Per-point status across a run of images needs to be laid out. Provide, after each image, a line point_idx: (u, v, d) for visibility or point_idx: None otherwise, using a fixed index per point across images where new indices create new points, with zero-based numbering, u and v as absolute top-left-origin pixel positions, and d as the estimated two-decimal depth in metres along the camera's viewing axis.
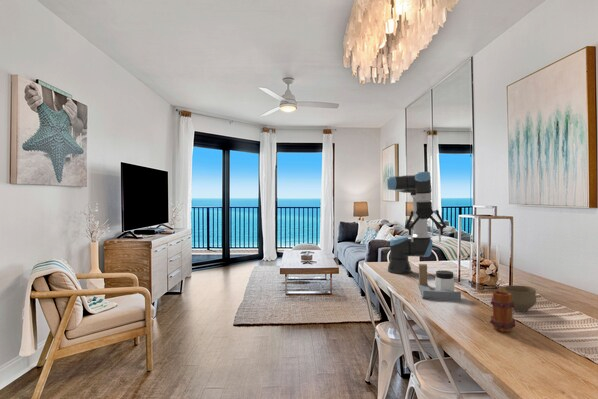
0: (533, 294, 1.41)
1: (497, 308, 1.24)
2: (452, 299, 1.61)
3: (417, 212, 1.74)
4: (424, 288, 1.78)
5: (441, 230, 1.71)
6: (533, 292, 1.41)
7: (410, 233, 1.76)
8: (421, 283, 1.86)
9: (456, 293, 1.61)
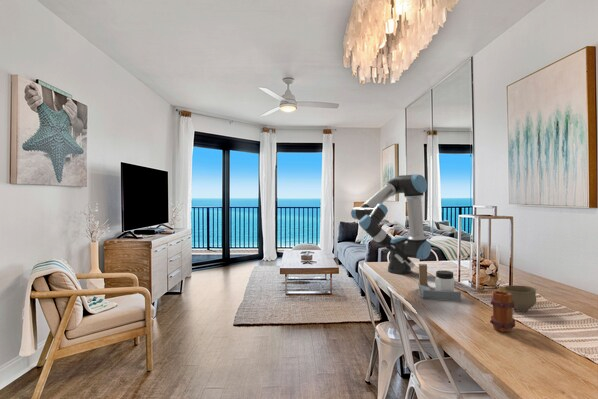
0: (533, 294, 1.41)
1: (497, 308, 1.24)
2: (452, 299, 1.61)
3: None
4: (424, 288, 1.78)
5: (405, 260, 1.78)
6: (533, 292, 1.41)
7: None
8: (421, 283, 1.86)
9: (456, 293, 1.61)
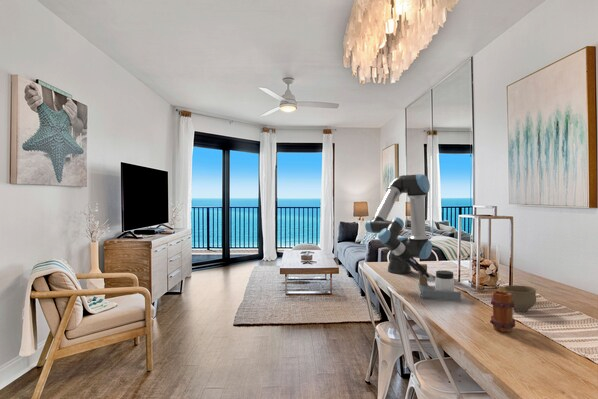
0: (533, 294, 1.41)
1: (497, 308, 1.24)
2: (452, 299, 1.61)
3: None
4: (424, 288, 1.78)
5: (424, 274, 1.83)
6: (533, 292, 1.41)
7: None
8: (421, 283, 1.86)
9: (456, 293, 1.61)
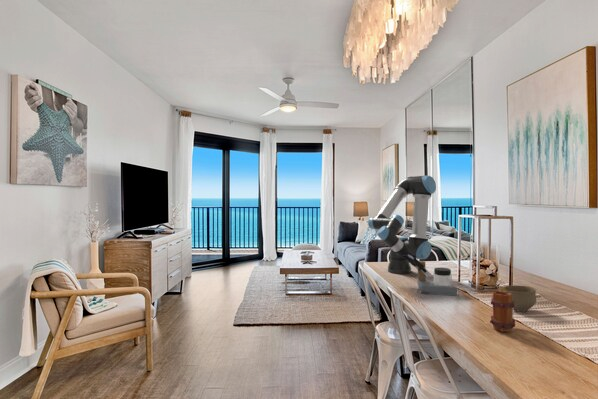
0: (533, 294, 1.41)
1: (497, 308, 1.24)
2: (449, 294, 1.70)
3: (402, 254, 1.99)
4: (422, 284, 1.87)
5: (422, 270, 1.92)
6: (533, 292, 1.41)
7: None
8: (420, 279, 1.94)
9: (453, 288, 1.70)
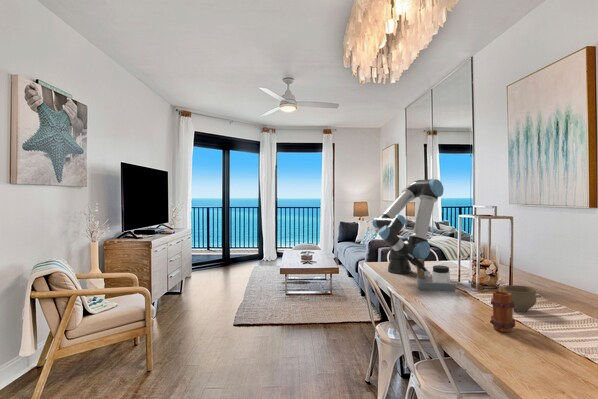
0: (533, 294, 1.41)
1: (497, 308, 1.24)
2: (447, 290, 1.76)
3: None
4: (421, 281, 1.93)
5: (422, 268, 1.98)
6: (533, 292, 1.41)
7: None
8: (419, 277, 2.00)
9: (451, 285, 1.75)
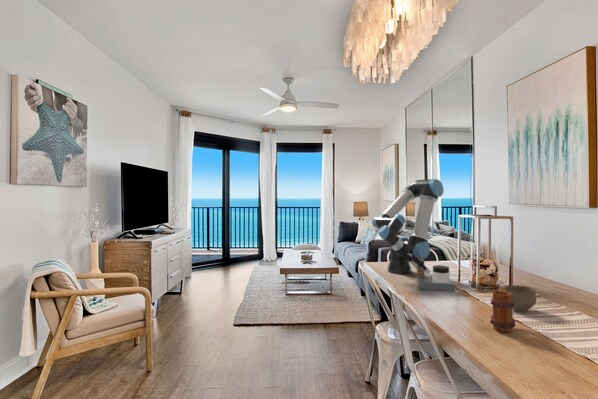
0: (533, 294, 1.41)
1: (497, 308, 1.24)
2: (447, 290, 1.76)
3: None
4: (421, 281, 1.93)
5: (422, 267, 1.94)
6: (533, 292, 1.41)
7: None
8: (419, 277, 2.00)
9: (451, 285, 1.75)
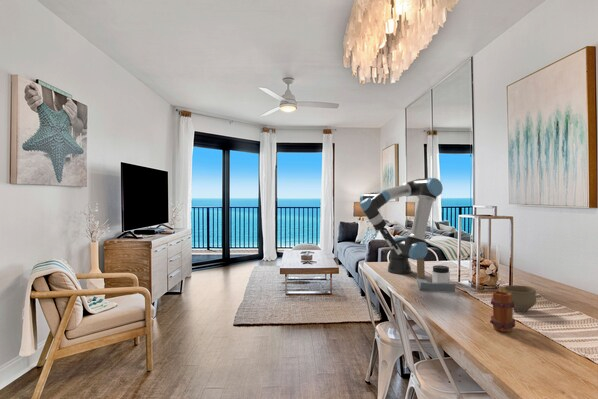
0: (533, 294, 1.41)
1: (497, 308, 1.24)
2: (447, 290, 1.76)
3: None
4: (421, 281, 1.93)
5: (394, 246, 1.93)
6: (533, 292, 1.41)
7: (388, 242, 2.08)
8: (419, 277, 2.00)
9: (451, 285, 1.75)
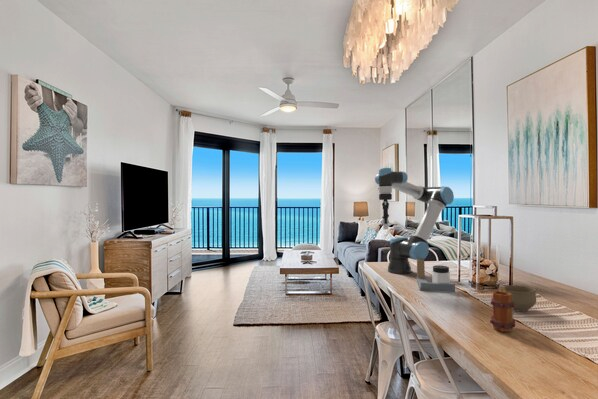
0: (533, 294, 1.41)
1: (497, 308, 1.24)
2: (447, 290, 1.76)
3: None
4: (421, 281, 1.93)
5: None
6: (533, 292, 1.41)
7: None
8: (419, 277, 2.00)
9: (451, 285, 1.75)
